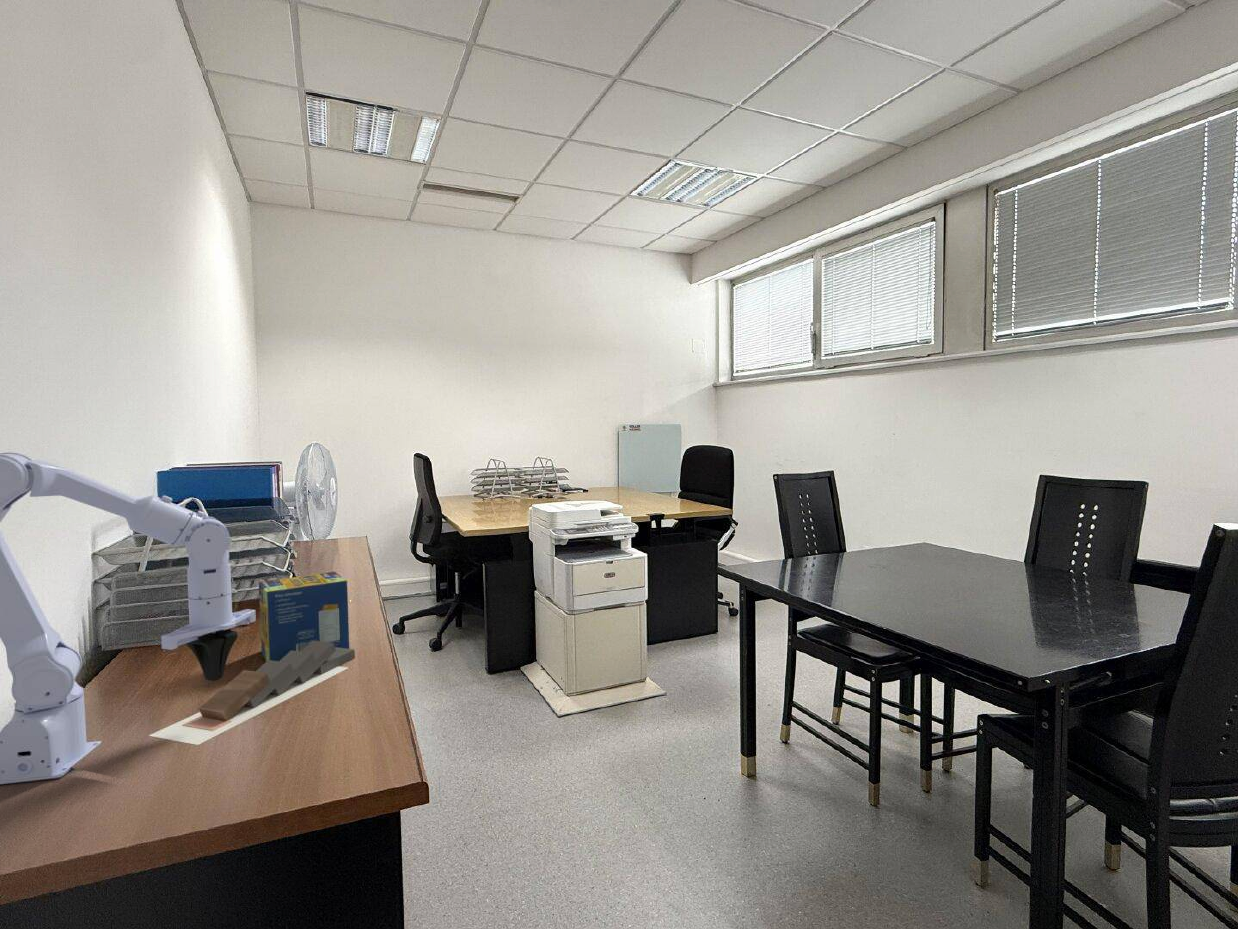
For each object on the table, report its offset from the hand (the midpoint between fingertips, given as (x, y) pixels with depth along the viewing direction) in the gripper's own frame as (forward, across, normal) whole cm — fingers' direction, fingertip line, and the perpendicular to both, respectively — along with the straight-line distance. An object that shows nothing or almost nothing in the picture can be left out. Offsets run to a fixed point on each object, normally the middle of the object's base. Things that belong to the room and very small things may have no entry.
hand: (214, 679), depth 98 cm
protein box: (+8, +30, +11) cm, 33 cm away
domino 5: (+6, +20, 0) cm, 20 cm away
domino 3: (+6, +10, 0) cm, 11 cm away
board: (+7, +8, 0) cm, 11 cm away
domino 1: (+6, 0, 0) cm, 6 cm away
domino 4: (+6, +15, 0) cm, 16 cm away
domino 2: (+6, +4, 0) cm, 7 cm away
